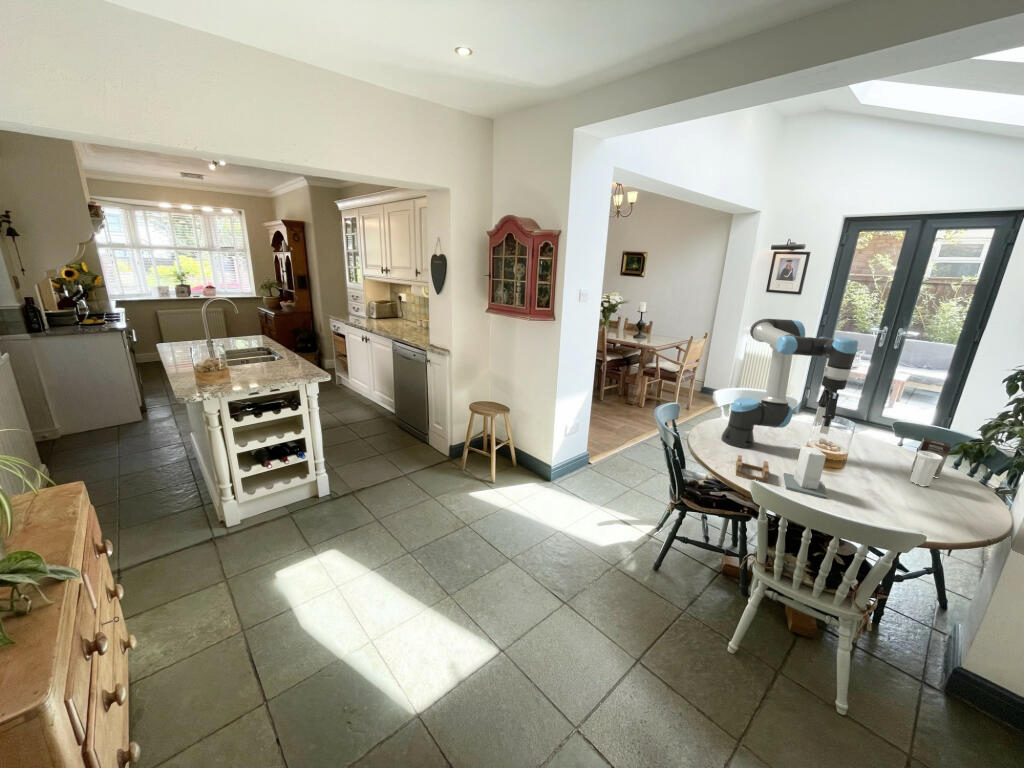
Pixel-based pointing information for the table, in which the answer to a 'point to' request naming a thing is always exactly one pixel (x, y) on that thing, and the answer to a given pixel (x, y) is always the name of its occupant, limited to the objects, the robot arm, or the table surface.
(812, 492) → the plate
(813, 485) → the skincare box
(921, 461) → the cup
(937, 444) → the coffee box
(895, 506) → the table surface
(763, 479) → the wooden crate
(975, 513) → the table surface
